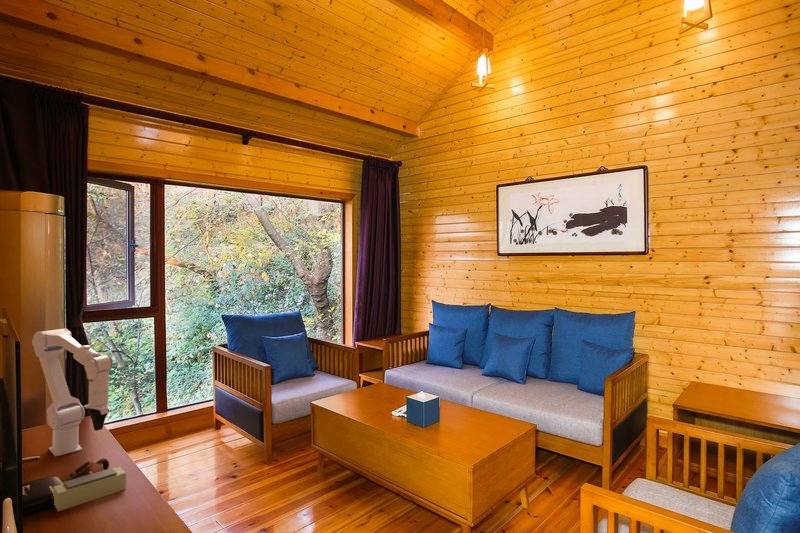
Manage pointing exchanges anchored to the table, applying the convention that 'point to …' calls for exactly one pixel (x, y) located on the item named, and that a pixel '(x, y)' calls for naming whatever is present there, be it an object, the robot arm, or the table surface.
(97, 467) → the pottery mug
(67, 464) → the table surface
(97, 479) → the deck bay
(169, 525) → the table surface
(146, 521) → the table surface
